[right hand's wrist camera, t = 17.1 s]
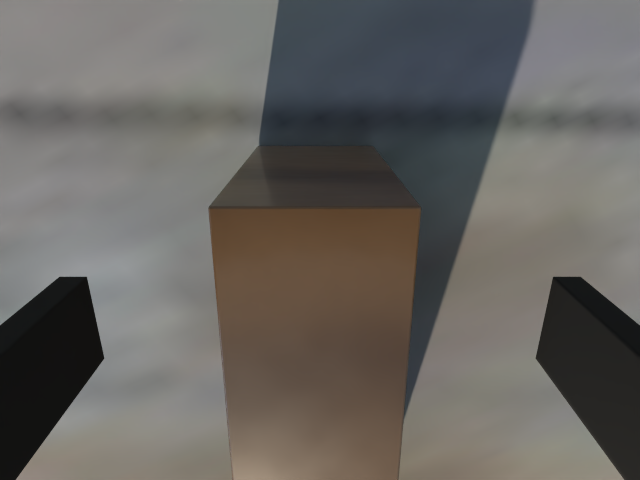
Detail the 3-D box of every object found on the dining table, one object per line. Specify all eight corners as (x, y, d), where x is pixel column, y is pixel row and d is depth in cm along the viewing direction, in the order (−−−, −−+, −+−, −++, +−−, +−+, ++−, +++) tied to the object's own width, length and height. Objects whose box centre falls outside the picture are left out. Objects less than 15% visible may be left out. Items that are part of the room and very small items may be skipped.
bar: (257, 145, 19) (207, 206, 10) (373, 145, 19) (422, 206, 10) (277, 573, 28) (260, 795, 19) (354, 573, 28) (371, 794, 19)
